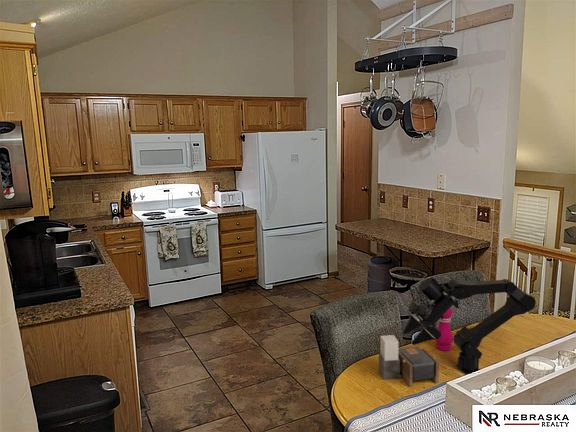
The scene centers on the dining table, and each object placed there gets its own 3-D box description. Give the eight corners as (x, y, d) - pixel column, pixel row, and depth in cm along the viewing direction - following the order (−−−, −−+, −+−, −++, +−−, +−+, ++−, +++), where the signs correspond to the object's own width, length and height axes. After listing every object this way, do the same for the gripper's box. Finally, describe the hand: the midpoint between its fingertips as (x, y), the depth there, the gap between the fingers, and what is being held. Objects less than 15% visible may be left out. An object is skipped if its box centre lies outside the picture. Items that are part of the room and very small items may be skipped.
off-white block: (393, 352, 166) (393, 335, 165) (398, 359, 161) (398, 341, 160) (380, 353, 166) (380, 335, 165) (384, 360, 160) (384, 342, 159)
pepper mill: (431, 344, 187) (432, 299, 184) (448, 343, 188) (449, 298, 185) (438, 352, 180) (440, 305, 177) (456, 351, 181) (457, 304, 178)
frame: (425, 368, 168) (425, 347, 167) (439, 383, 158) (440, 361, 156) (395, 371, 166) (395, 351, 165) (408, 387, 156) (408, 365, 154)
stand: (394, 369, 168) (394, 352, 167) (399, 378, 161) (400, 360, 160) (378, 370, 167) (378, 353, 166) (383, 379, 161) (383, 361, 160)
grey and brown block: (417, 361, 170) (418, 346, 169) (434, 377, 157) (434, 361, 156) (398, 363, 168) (398, 348, 167) (412, 380, 156) (413, 364, 155)
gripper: (414, 285, 170) (385, 315, 171) (433, 303, 152) (400, 335, 153) (433, 304, 172) (405, 333, 173) (455, 323, 153) (423, 355, 154)
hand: (407, 338), depth 163 cm, fingers open, 9 cm apart
